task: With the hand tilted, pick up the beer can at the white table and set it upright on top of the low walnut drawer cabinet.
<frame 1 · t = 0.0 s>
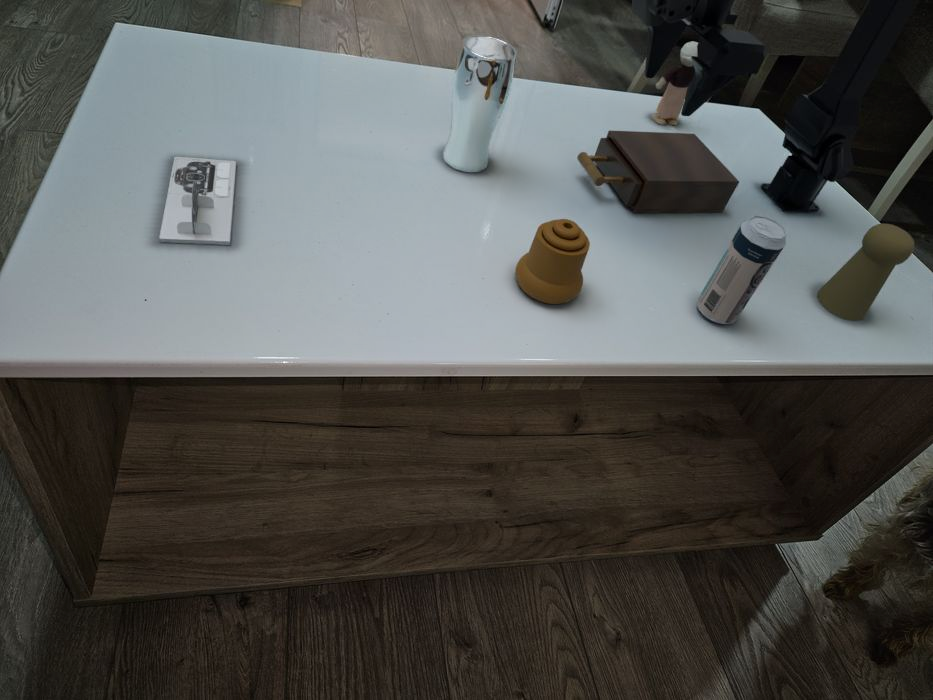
hand: (666, 95, 81), 15 cm above the table, tool pointing down, fingers open, 9 cm apart
ornamental finial: (545, 286, 76), on the table
grandmother figurine: (661, 121, 112), on the table
cork: (840, 305, 85), on the table
beer can: (714, 313, 78), on the table
drawer: (642, 171, 93), point 2 cm above the table, slide at 0.0 cm, touching cabinet
cabinet: (658, 187, 96), on the table
white flat box: (201, 201, 74), on the table
beer glass: (464, 161, 91), on the table
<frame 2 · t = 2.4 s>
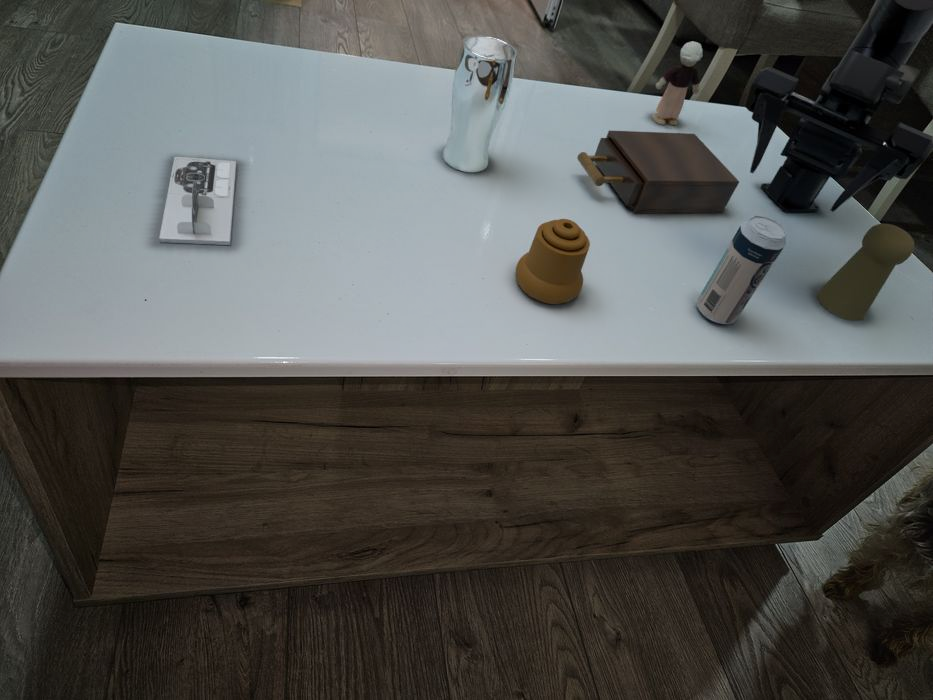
hand: (791, 190, 74), 13 cm above the table, tool tilted 45°, fingers open, 9 cm apart
nothing on the table moved.
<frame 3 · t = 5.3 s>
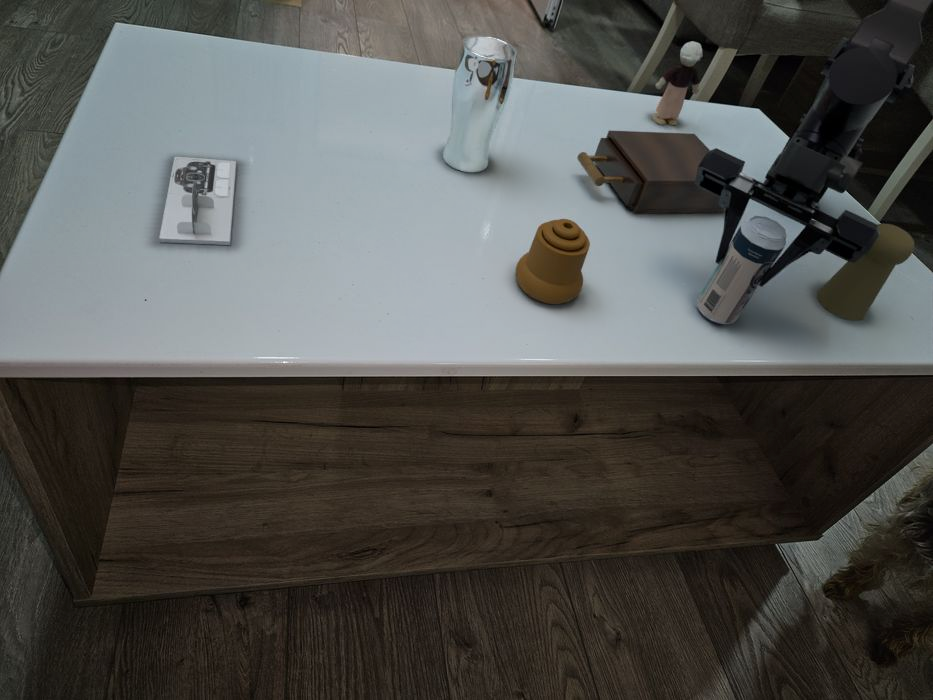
hand: (738, 273, 73), 7 cm above the table, tool tilted 45°, fingers closed on beer can, 5 cm apart
beer can: (714, 313, 78), on the table, touching gripper
everything else where it was.
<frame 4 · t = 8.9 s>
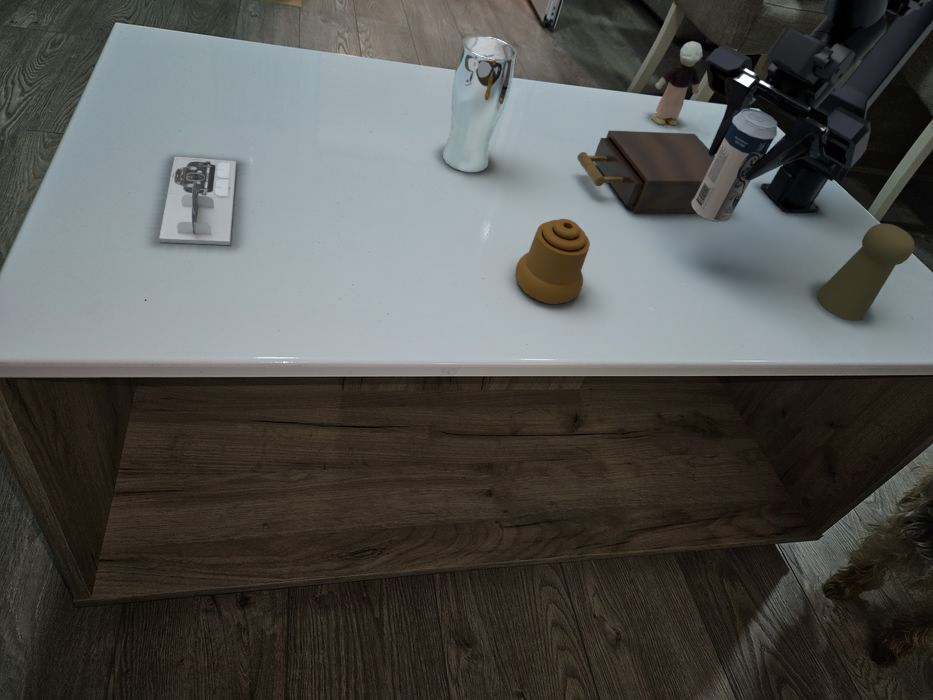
hand: (728, 166, 75), 13 cm above the table, tool tilted 45°, fingers closed on beer can, 5 cm apart
beer can: (708, 213, 80), point 7 cm above the table, touching gripper
everything else where it was.
when the fingers open (12 cm above the table, at t = 12.8 s): beer can stays where it is, resting on cabinet.
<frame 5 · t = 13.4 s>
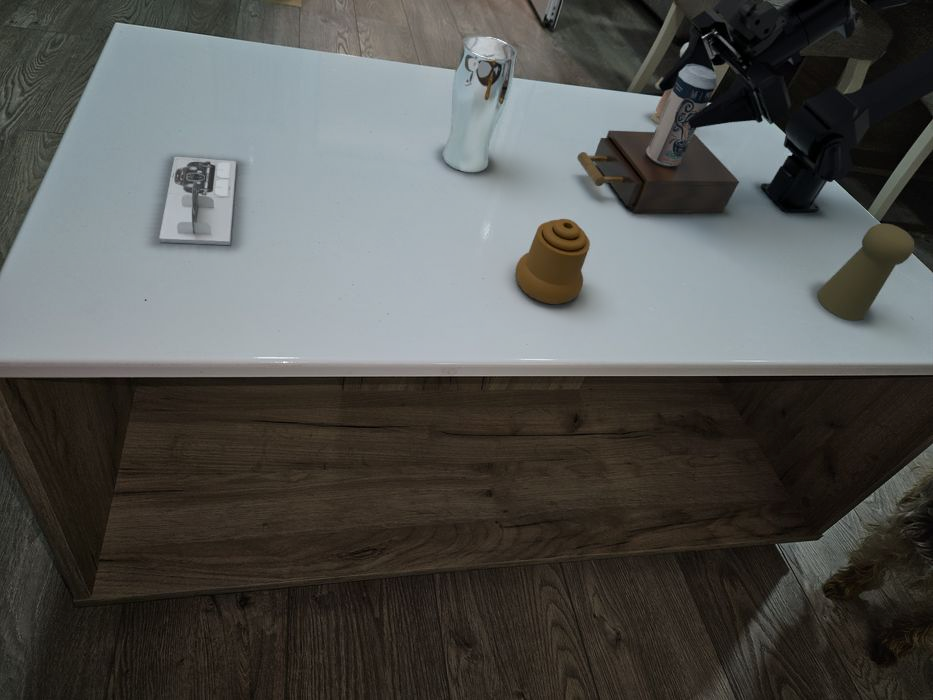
hand: (674, 106, 86), 12 cm above the table, tool tilted 45°, fingers open, 9 cm apart
beer can: (661, 160, 91), point 5 cm above the table, touching cabinet
everything else where it was.
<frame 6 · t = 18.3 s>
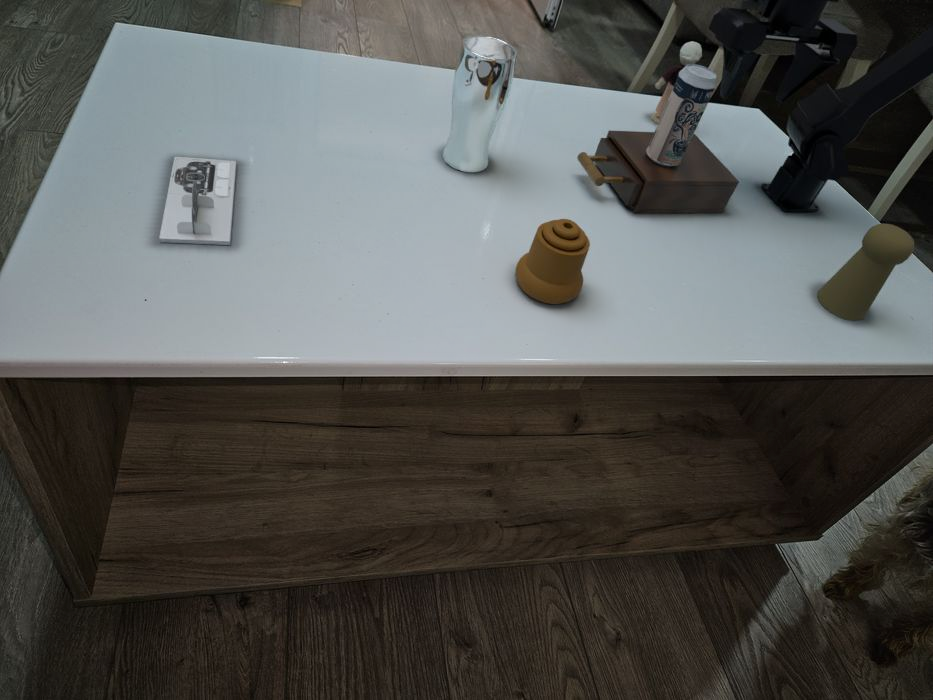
hand: (751, 99, 91), 13 cm above the table, tool pointing down, fingers open, 9 cm apart
nothing on the table moved.
at the end: beer can inside the target area on the cabinet (2.5 cm from its centre), point 4.8 cm above the cabinet's base; beer can tilted 0°; the gripper is holding nothing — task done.
